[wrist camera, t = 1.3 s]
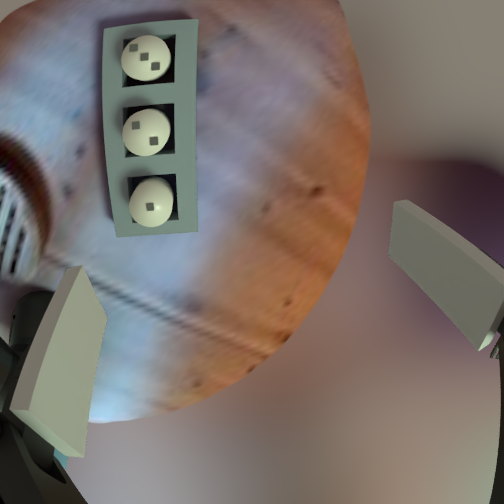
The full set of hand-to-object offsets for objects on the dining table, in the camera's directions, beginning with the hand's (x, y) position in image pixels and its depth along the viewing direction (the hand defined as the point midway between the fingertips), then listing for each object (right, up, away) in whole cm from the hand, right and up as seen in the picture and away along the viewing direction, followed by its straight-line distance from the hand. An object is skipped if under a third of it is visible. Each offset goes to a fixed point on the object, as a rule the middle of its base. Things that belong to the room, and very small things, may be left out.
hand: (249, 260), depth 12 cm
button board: (-10, +13, +16) cm, 23 cm away
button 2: (-10, +12, +15) cm, 21 cm away
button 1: (-10, +6, +18) cm, 22 cm away
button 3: (-10, +18, +11) cm, 23 cm away
